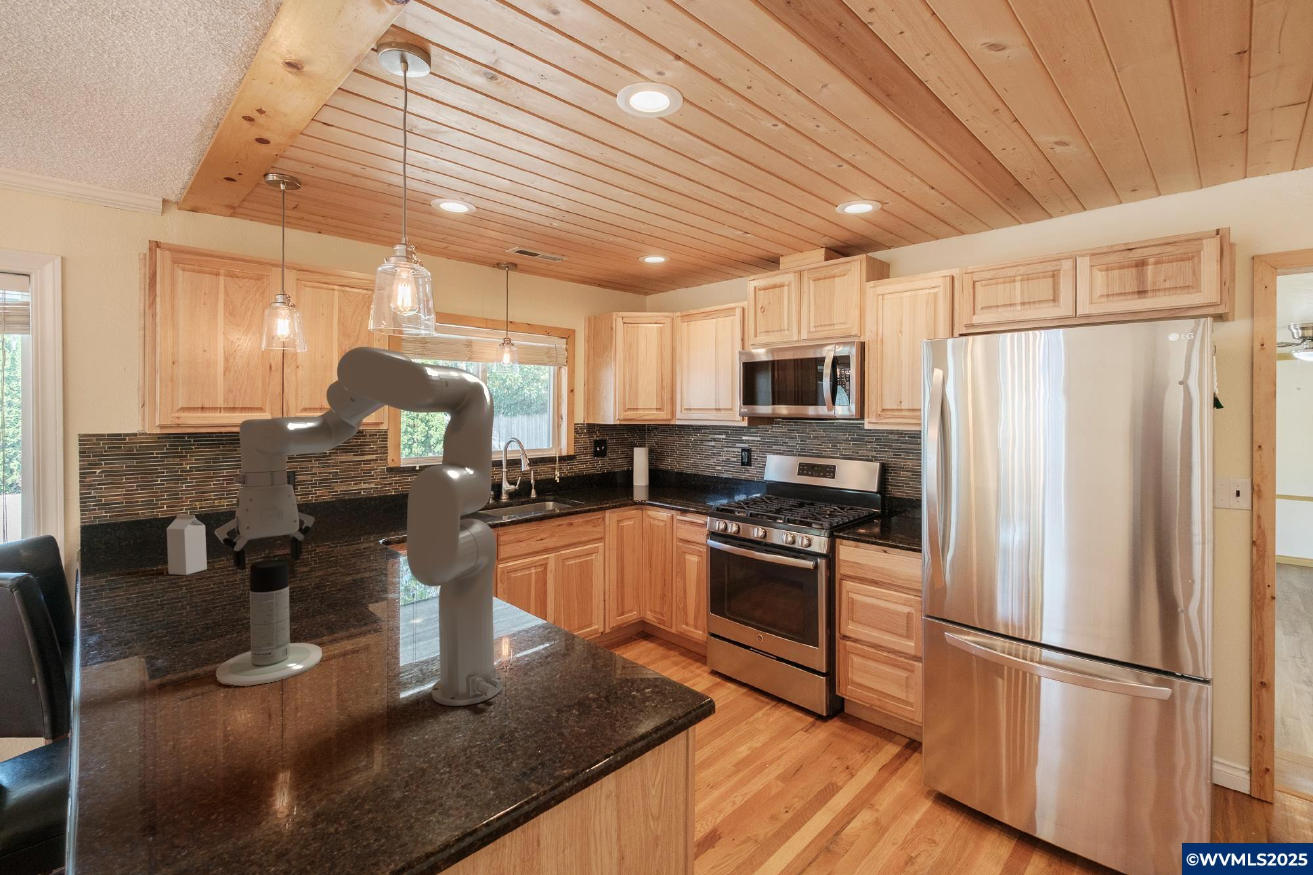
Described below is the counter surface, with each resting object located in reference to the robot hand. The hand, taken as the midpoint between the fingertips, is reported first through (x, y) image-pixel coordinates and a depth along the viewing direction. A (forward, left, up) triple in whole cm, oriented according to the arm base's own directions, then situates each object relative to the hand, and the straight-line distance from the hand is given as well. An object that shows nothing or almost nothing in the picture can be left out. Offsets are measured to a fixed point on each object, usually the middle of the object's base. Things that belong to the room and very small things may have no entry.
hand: (269, 564), depth 119 cm
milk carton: (+105, -9, -21) cm, 108 cm away
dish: (0, 0, -21) cm, 21 cm away
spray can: (0, 0, -20) cm, 20 cm away
